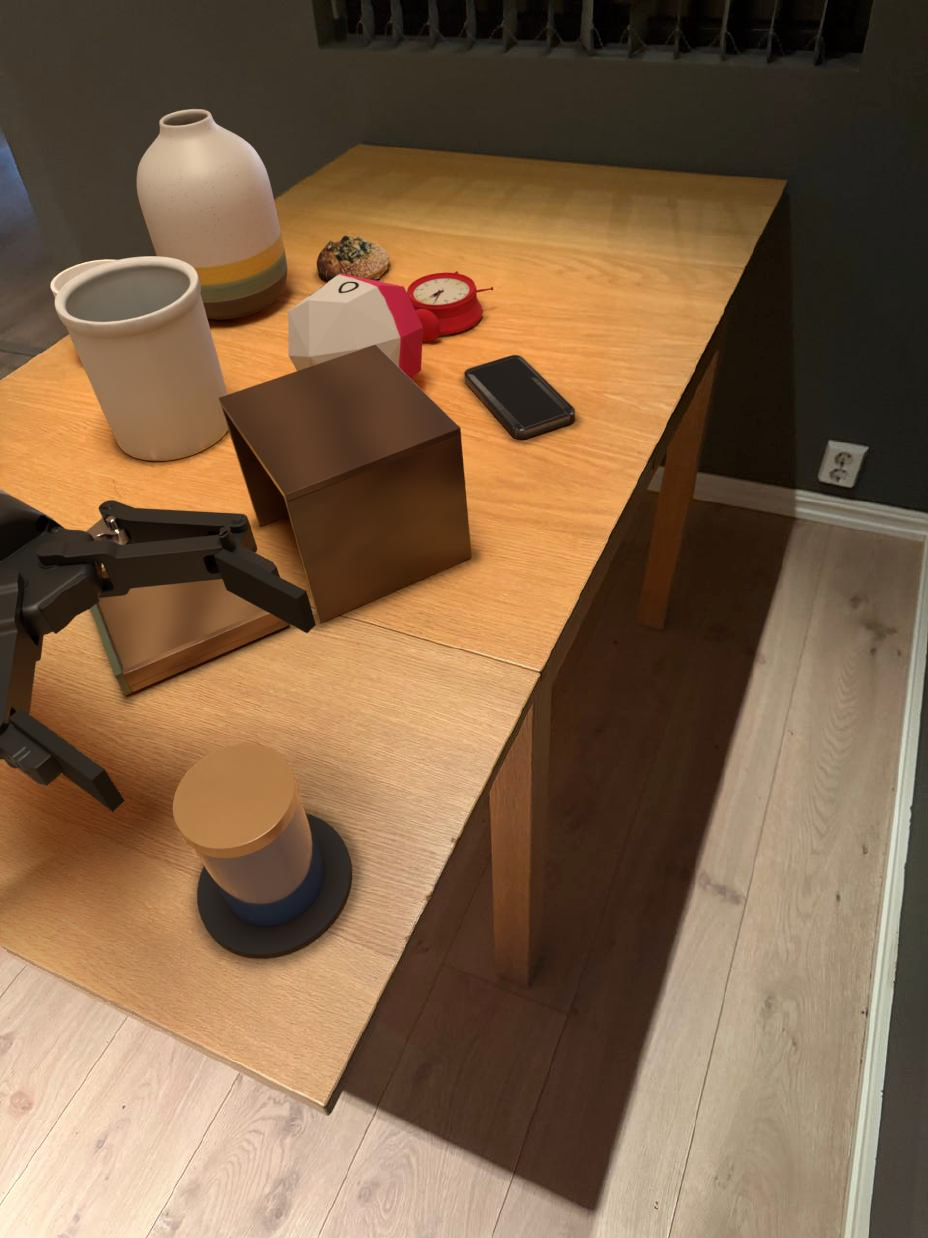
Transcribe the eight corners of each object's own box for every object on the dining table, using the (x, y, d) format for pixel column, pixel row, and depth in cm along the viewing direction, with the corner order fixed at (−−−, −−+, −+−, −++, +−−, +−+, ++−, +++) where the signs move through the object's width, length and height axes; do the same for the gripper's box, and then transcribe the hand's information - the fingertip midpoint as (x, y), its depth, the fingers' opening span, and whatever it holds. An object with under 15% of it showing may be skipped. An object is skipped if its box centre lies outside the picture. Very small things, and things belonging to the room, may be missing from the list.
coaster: (167, 902, 63) (164, 898, 62) (274, 791, 69) (272, 787, 68) (277, 990, 58) (275, 987, 58) (382, 862, 64) (381, 858, 63)
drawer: (125, 695, 76) (114, 675, 74) (88, 594, 85) (77, 573, 83) (290, 625, 81) (283, 604, 79) (237, 535, 90) (230, 515, 88)
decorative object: (432, 253, 99) (340, 277, 89) (457, 386, 106) (373, 422, 95) (340, 269, 109) (247, 292, 98) (368, 391, 115) (283, 424, 105)
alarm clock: (503, 285, 116) (416, 302, 107) (498, 332, 120) (413, 352, 111) (450, 262, 121) (364, 277, 113) (447, 308, 125) (362, 326, 117)
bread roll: (302, 269, 131) (300, 234, 128) (363, 254, 137) (363, 220, 133) (344, 296, 125) (343, 260, 122) (407, 279, 131) (407, 245, 127)
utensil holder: (265, 413, 106) (226, 271, 93) (173, 480, 98) (117, 335, 85) (180, 382, 112) (133, 244, 99) (87, 443, 104) (23, 302, 91)
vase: (272, 333, 119) (224, 141, 101) (156, 330, 122) (90, 143, 104) (309, 275, 130) (271, 93, 113) (202, 273, 133) (150, 96, 116)
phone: (516, 433, 97) (461, 370, 107) (517, 441, 98) (461, 378, 108) (579, 412, 99) (519, 352, 109) (579, 420, 100) (519, 360, 109)
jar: (199, 892, 63) (146, 808, 55) (273, 813, 67) (235, 725, 59) (275, 951, 59) (232, 871, 51) (349, 864, 63) (319, 778, 55)
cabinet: (320, 623, 81) (284, 494, 70) (257, 523, 91) (218, 397, 81) (472, 558, 85) (460, 427, 75) (395, 469, 96) (375, 343, 85)
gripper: (155, 487, 63) (381, 598, 54) (-183, 722, 50) (40, 923, 41) (118, 396, 58) (363, 502, 49) (-271, 633, 45) (-38, 842, 35)
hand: (216, 695), depth 45 cm, fingers open, 13 cm apart
